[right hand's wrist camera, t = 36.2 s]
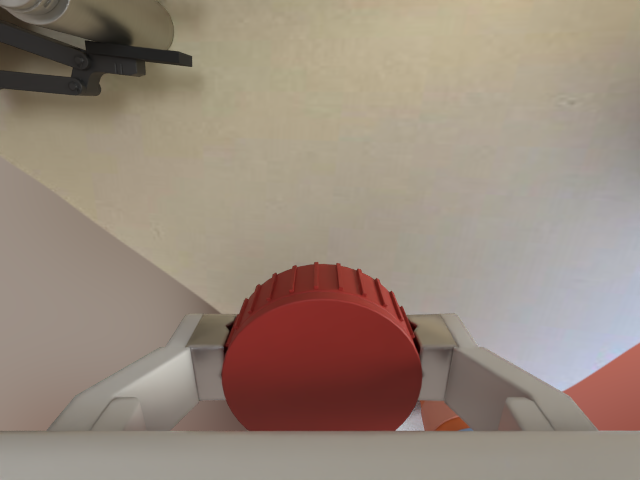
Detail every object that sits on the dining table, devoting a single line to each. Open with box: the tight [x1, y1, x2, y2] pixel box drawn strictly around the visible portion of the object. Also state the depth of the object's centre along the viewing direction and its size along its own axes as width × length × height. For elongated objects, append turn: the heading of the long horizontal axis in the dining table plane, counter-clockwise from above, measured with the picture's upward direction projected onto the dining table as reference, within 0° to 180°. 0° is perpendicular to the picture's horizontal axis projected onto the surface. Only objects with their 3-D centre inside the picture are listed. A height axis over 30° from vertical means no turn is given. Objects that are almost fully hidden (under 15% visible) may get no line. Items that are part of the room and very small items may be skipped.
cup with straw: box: [420, 400, 473, 431], centre depth 37 cm, size 9×9×18 cm
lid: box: [222, 262, 422, 431], centre depth 10 cm, size 5×5×2 cm
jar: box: [0, 0, 174, 50], centre depth 23 cm, size 4×4×15 cm
